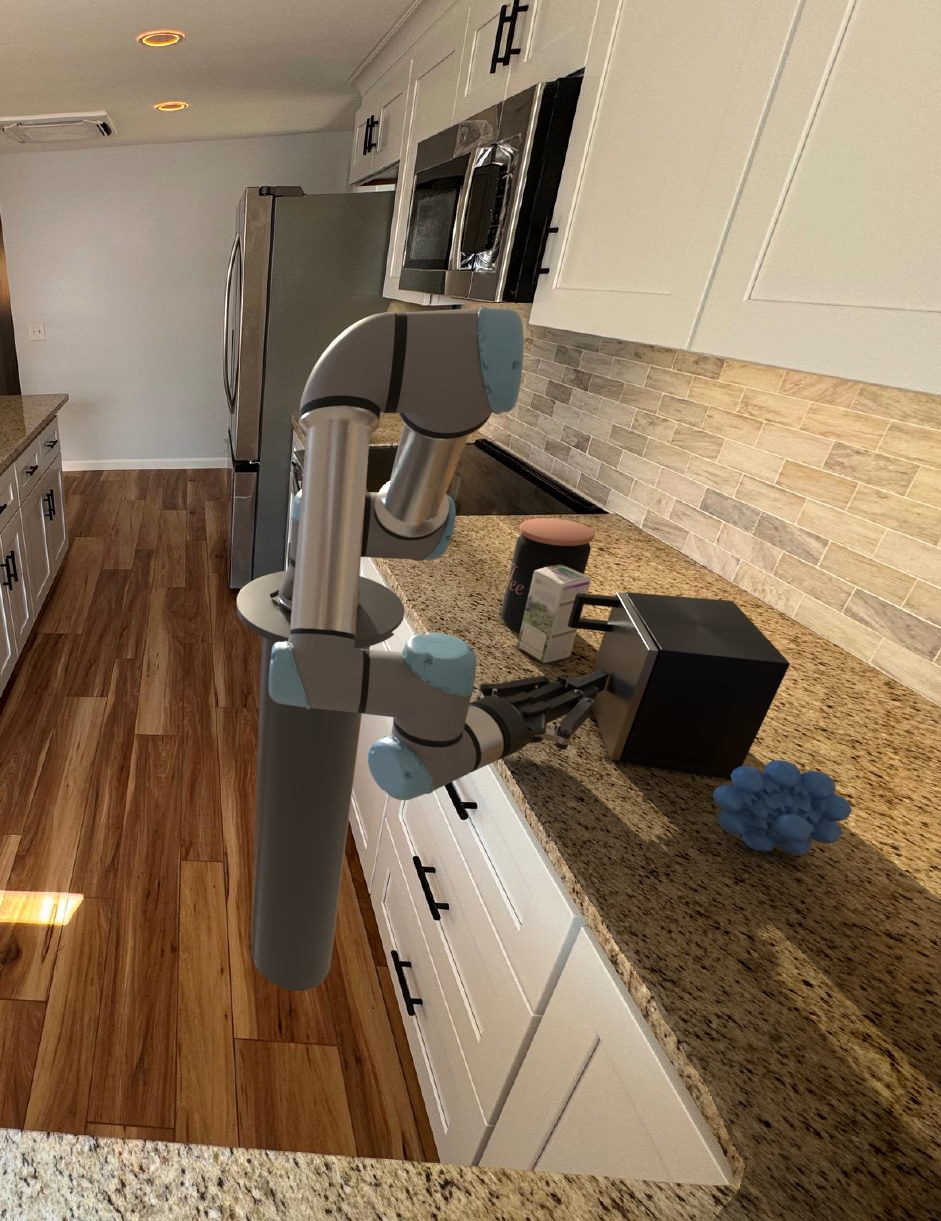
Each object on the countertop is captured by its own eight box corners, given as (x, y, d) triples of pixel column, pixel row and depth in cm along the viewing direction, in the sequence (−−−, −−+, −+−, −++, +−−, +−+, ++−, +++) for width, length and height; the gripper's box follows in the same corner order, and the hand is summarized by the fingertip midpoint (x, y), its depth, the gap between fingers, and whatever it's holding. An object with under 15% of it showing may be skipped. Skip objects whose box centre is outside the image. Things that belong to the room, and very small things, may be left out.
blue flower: (710, 868, 72) (751, 783, 66) (685, 823, 77) (721, 740, 72) (848, 892, 68) (904, 804, 62) (811, 842, 74) (860, 757, 68)
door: (565, 752, 89) (598, 643, 81) (546, 686, 102) (573, 588, 94) (619, 761, 87) (658, 650, 79) (593, 693, 100) (624, 592, 92)
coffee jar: (504, 605, 125) (525, 514, 117) (571, 618, 120) (597, 523, 111) (494, 629, 118) (515, 534, 110) (564, 644, 112) (592, 545, 104)
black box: (621, 762, 87) (661, 649, 79) (592, 693, 100) (625, 591, 92) (736, 780, 83) (790, 663, 75) (690, 706, 96) (733, 600, 88)
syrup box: (571, 657, 109) (594, 576, 102) (542, 664, 107) (563, 583, 101) (542, 640, 114) (563, 562, 107) (514, 647, 112) (533, 569, 106)
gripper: (434, 729, 91) (551, 680, 99) (519, 786, 80) (643, 726, 88) (442, 683, 87) (563, 636, 95) (533, 736, 77) (660, 679, 85)
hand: (601, 679), depth 92 cm, fingers closed
